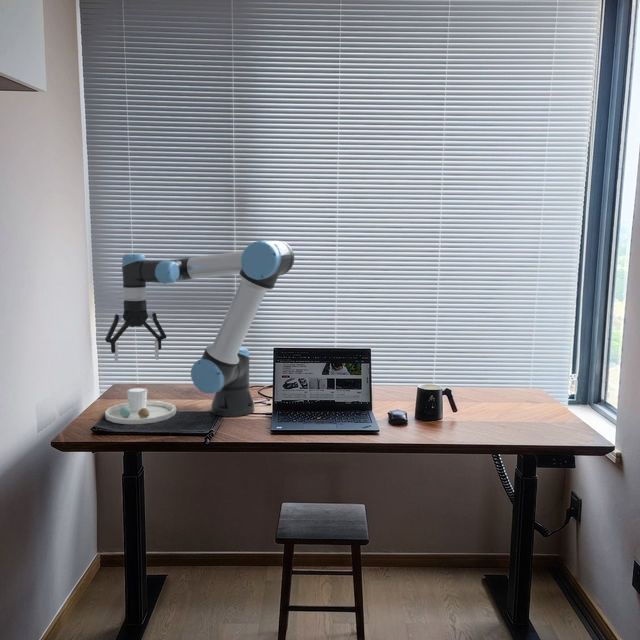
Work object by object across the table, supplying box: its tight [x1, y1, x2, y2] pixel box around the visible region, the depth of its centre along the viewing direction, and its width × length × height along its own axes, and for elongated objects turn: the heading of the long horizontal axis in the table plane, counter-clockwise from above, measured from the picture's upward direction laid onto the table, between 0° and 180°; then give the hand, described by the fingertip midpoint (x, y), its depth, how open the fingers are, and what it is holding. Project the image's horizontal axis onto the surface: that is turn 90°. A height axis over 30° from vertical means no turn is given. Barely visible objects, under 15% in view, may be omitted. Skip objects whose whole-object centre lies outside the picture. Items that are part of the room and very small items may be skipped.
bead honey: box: [138, 408, 149, 418], centre depth 212 cm, size 4×4×4 cm
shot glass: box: [126, 387, 148, 412], centre depth 222 cm, size 7×7×7 cm
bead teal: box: [120, 407, 131, 417], centre depth 213 cm, size 4×4×4 cm
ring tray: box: [104, 400, 177, 425], centre depth 217 cm, size 23×23×2 cm
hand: (136, 360), depth 220 cm, fingers open, 13 cm apart
